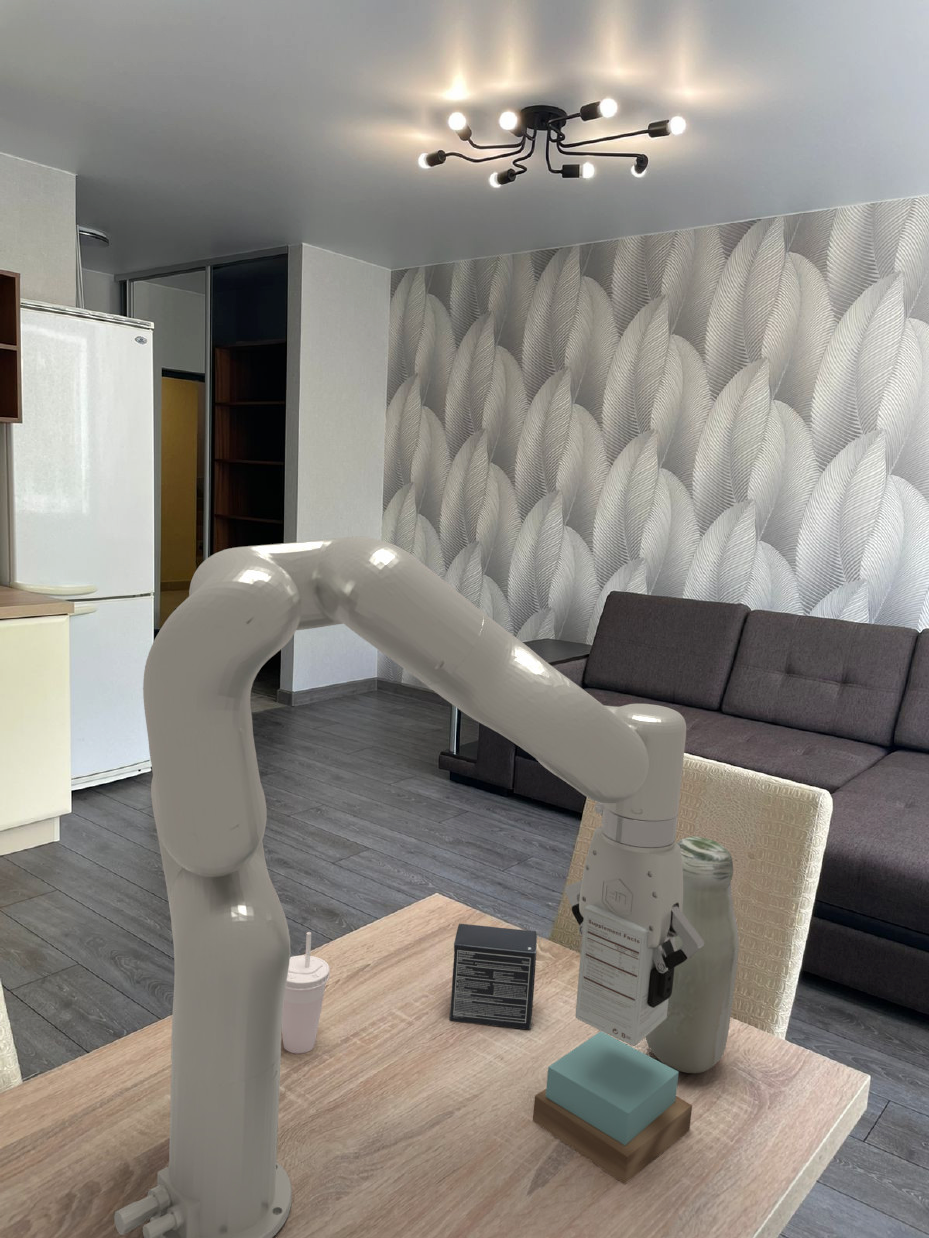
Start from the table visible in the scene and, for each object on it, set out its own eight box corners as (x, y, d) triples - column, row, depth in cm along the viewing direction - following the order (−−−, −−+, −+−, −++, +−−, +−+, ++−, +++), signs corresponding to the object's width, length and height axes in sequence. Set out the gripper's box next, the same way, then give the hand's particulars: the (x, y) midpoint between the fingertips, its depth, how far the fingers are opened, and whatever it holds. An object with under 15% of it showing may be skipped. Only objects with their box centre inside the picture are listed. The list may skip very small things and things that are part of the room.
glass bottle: (734, 1057, 114) (759, 840, 110) (706, 1100, 105) (733, 866, 101) (658, 1027, 119) (679, 819, 115) (625, 1066, 110) (648, 842, 106)
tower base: (624, 1188, 92) (627, 1156, 91) (532, 1125, 100) (534, 1095, 99) (689, 1134, 100) (692, 1105, 100) (599, 1080, 108) (602, 1052, 108)
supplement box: (608, 991, 103) (618, 884, 101) (668, 1019, 99) (680, 907, 97) (572, 1018, 98) (582, 905, 96) (634, 1048, 93) (646, 930, 91)
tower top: (625, 1145, 93) (628, 1113, 92) (545, 1096, 99) (548, 1066, 99) (675, 1101, 100) (678, 1071, 100) (598, 1058, 107) (601, 1030, 106)
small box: (532, 1003, 123) (539, 928, 121) (531, 1031, 116) (538, 953, 115) (453, 994, 124) (458, 920, 122) (447, 1021, 117) (453, 943, 116)
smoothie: (331, 1055, 109) (337, 943, 107) (277, 1064, 106) (281, 950, 104) (319, 1024, 115) (324, 918, 113) (267, 1032, 112) (271, 924, 110)
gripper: (550, 808, 98) (538, 963, 101) (694, 862, 86) (676, 1036, 89) (592, 794, 104) (580, 942, 106) (734, 843, 92) (716, 1008, 94)
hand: (624, 984), depth 98 cm, fingers closed on supplement box, 7 cm apart
